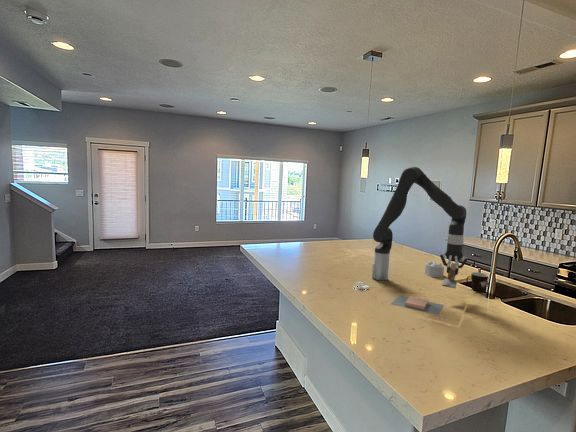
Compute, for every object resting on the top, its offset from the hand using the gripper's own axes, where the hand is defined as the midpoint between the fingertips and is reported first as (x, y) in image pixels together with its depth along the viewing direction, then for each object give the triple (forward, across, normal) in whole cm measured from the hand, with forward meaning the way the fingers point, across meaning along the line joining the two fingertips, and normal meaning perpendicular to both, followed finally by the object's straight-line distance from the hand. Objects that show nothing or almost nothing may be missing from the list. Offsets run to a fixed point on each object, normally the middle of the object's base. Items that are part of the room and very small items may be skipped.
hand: (452, 274), depth 171 cm
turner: (+2, 0, -1) cm, 2 cm away
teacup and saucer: (+14, -42, -17) cm, 48 cm away
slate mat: (+14, -12, -23) cm, 29 cm away
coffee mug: (+14, +10, +25) cm, 30 cm away
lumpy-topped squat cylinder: (+14, -17, +45) cm, 50 cm away
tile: (+12, -12, -18) cm, 25 cm away
